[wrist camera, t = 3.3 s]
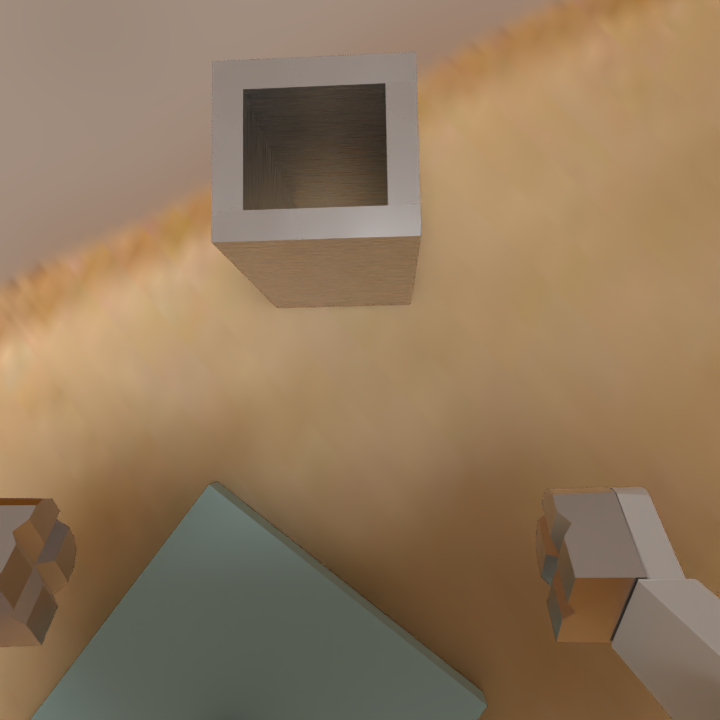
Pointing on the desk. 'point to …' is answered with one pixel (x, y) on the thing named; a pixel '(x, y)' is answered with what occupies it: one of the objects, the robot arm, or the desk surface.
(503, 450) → the desk surface
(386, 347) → the desk surface
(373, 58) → the grey hollow box
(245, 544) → the post base
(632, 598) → the robot arm
